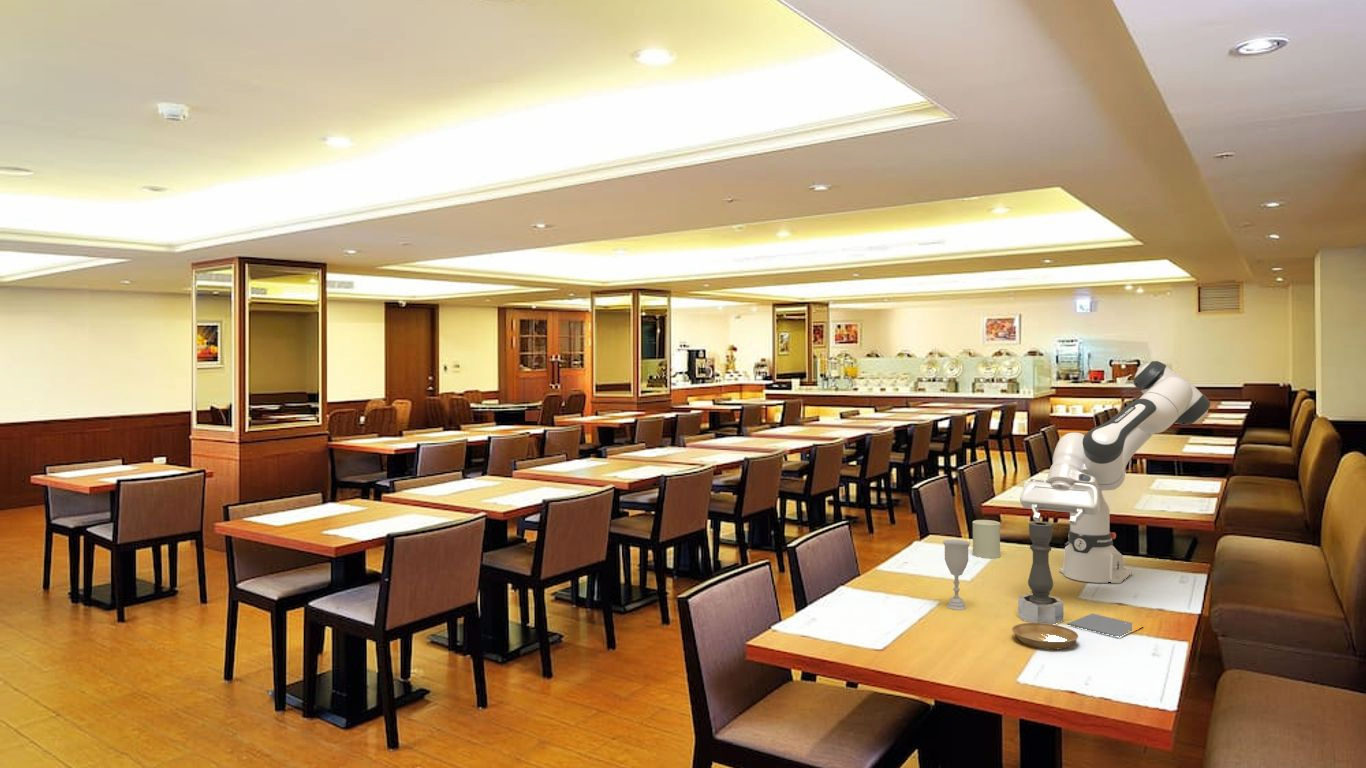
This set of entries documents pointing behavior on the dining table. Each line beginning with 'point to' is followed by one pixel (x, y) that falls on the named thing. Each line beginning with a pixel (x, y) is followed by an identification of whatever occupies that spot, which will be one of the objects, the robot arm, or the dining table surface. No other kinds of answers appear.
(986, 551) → the can
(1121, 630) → the slate mat
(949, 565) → the chalice
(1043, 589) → the candle holder
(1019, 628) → the plant saucer
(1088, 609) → the dining table surface
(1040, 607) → the steel collar
